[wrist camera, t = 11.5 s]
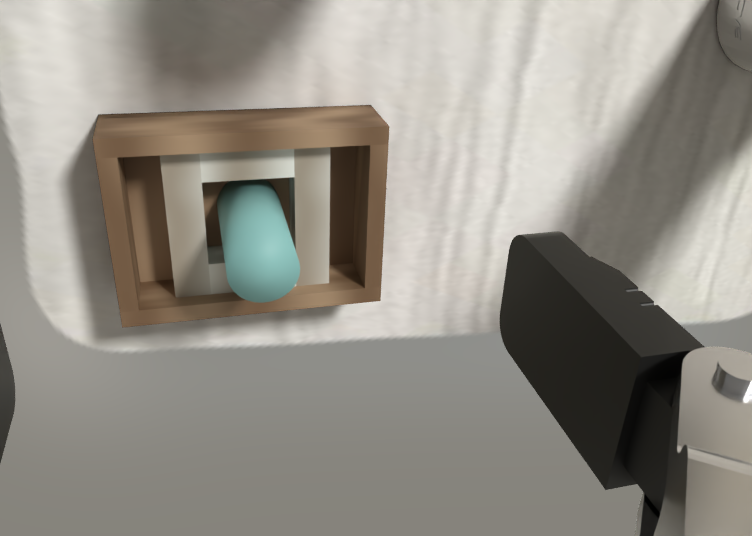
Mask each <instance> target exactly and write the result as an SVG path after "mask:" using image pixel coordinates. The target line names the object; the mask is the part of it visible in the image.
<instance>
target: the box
mask: <svg viewBox="0 0 752 536" xmlns="http://www.w3.org/2000/svg"><path fill="white" fill-rule="evenodd" d="M388 140H389V126H388V124H387V123H386V122H385V121H384V120H383V119H382V118H381V116H380V115H379V114H378V113H377V112H376V111H375V109H374V108H373V107H372V106H371V105H360V106H331V107H302V108H274V109H245V110H216V111H188V112H159V113H131V114H102V115H98V119H97V123H96V127H95V131H94V135H93V145H94V151H95V158H96V164H97V170H98V177H99V183H100V189H101V196H102V202H103V208H104V214H105V221H106V227H107V233H108V240H109V246H110V252H111V259H112V265H113V271H114V278H115V284H116V290H117V297H118V303H119V309H120V315H121V322H122V327H132V326H141V325H151V324H161V323H170V322H180V321H190V320H199V319H209V318H219V317H228V316H238V315H248V314H257V313H267V312H277V311H286V310H296V309H306V308H315V307H325V306H334V305H344V304H354V303H363V302H373V301H380V296H381V277H382V257H383V238H384V218H385V199H386V179H387V160H388ZM255 179H265V180H267V181H268V182H269V183H271V184H272V186H273V187H274V188H275V190H276V192H277V194H278V197H279V200H280V203H281V206H282V209H283V212H284V216H285V219H286V222H287V225H288V228H289V231H290V234H291V238H292V241H293V244H294V247H295V250H296V253H297V256H298V260H299V263H300V274H299V278H298V281H297V283H296V284H295V286H294V287H293V289H292V290H291V291H290V292H289V293H287V294H286V295H285V296H283V297H281V298H279V299H277V300H274V301H270V302H264V303H258V302H252V301H248V300H245V299H243V298H241V297H240V296H238V295H237V294H236V293H235V292H234V291H233V290H232V288H231V287H230V285H229V283H228V280H227V274H226V267H225V260H224V253H223V245H222V238H221V231H220V224H219V217H218V209H217V199H218V195H219V193H220V191H221V189H222V188H223V187H224V186H225V185H226V184H227V183H228V182H229V181H238V180H255Z"/></svg>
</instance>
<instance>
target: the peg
mask: <svg viewBox="0 0 752 536" xmlns="http://www.w3.org/2000/svg"><path fill="white" fill-rule="evenodd" d="M217 209H218V217H219V224H220V231H221V238H222V245H223V253H224V260H225V267H226V274H227V280H228V283H229V285H230V287H231V288H232V290H233V291H234V292H235V293H236V294H237V295H238V296H240V297H241V298H243V299H245V300H248V301H252V302H258V303H264V302H270V301H274V300H277V299H279V298H281V297H283V296H285V295H286V294H287V293H289V292H290V291H291V290H292V289H293V287H294V286H295V284H296V283H297V281H298V278H299V274H300V263H299V260H298V256H297V253H296V250H295V247H294V244H293V241H292V238H291V234H290V231H289V228H288V225H287V222H286V219H285V216H284V212H283V209H282V206H281V203H280V200H279V197H278V194H277V192H276V190H275V188H274V187H273V186H272V184H271V183H269V182H268V181H267V180H265V179H255V180H238V181H229V182H228V183H227V184H226V185H225V186H224V187H223V188H222V189H221V191H220V193H219V195H218V199H217Z"/></svg>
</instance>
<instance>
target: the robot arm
mask: <svg viewBox="0 0 752 536" xmlns="http://www.w3.org/2000/svg"><path fill="white" fill-rule="evenodd" d="M717 32H718V36H719V41H720V44H721V46H722V48H723V50H724V52H725V54H726V56H727V57H728V58H729V59H730V60H731V61H732V62H733V63H734V64H736V65H737V66H739V67H741V68H743V69H745V70H748V71H751V72H752V0H719V6H718V12H717ZM500 330H501V335H502V339H503V342H504V345H505V347H506V349H507V351H508V353H509V354H510V355H511V357H512V358H513V360H514V361H515V362H516V364H517V365H518V367H519V368H520V369H521V371H522V372H523V374H524V375H525V376H526V378H527V379H528V381H529V382H530V384H531V385H532V386H533V388H534V389H535V391H536V392H537V394H538V395H539V396H540V398H541V399H542V400H543V402H544V403H545V405H546V406H547V408H548V409H549V410H550V412H551V413H552V415H553V416H554V418H555V419H556V420H557V422H558V423H559V425H560V426H561V427H562V429H563V430H564V432H565V433H566V435H567V436H568V437H569V439H570V440H571V442H572V443H573V444H574V446H575V447H576V449H577V450H578V451H579V453H580V454H581V456H582V457H583V458H584V460H585V461H586V462H587V464H588V465H589V467H590V468H591V470H592V471H593V473H594V474H595V475H596V477H597V478H598V480H599V481H600V482H601V484H602V485H603V487H604V488H605V490H607V489H613V488H618V487H623V486H628V485H634V484H638V485H639V487H640V488H641V489H642V490H643V494H642V497H641V501H640V504H639V508H638V513H637V521H636V530H635V536H752V354H750V353H748V352H744V351H741V350H737V349H732V348H726V347H704V346H703V345H702V344H701V343H700V342H698V341H697V340H696V339H695V338H694V337H693V336H692V335H691V334H690V333H688V332H687V331H686V330H685V329H684V328H683V327H682V326H681V325H680V324H678V323H677V322H676V321H675V320H674V319H673V318H672V317H671V316H669V315H668V314H667V313H666V312H665V311H664V310H663V309H662V308H660V307H659V306H658V305H654V301H653V300H652V299H650V298H649V297H648V296H647V295H646V294H645V293H644V292H643V291H638V287H637V286H636V285H635V284H634V283H632V282H631V281H630V280H629V279H628V278H627V277H626V276H625V275H624V274H622V273H621V272H620V271H619V270H617V269H615V268H613V267H611V266H609V265H607V264H605V263H603V262H601V261H599V260H597V259H595V258H593V257H589V256H588V255H586V254H585V253H584V252H583V251H582V250H581V249H580V248H579V247H578V246H577V245H576V244H575V243H573V242H572V241H571V240H570V239H569V238H568V237H567V236H566V235H565V234H563V233H562V232H548V233H537V234H525V235H518V236H516V237H515V238H514V239H513V240H512V242H511V245H510V249H509V255H508V262H507V269H506V276H505V283H504V290H503V297H502V304H501V311H500ZM14 407H15V383H14V376H13V370H12V366H11V363H10V359H9V355H8V351H7V347H6V344H5V340H4V336H3V332H2V328H1V325H0V462H1V459H2V455H3V451H4V448H5V444H6V440H7V436H8V432H9V429H10V425H11V421H12V418H13V414H14Z"/></svg>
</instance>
